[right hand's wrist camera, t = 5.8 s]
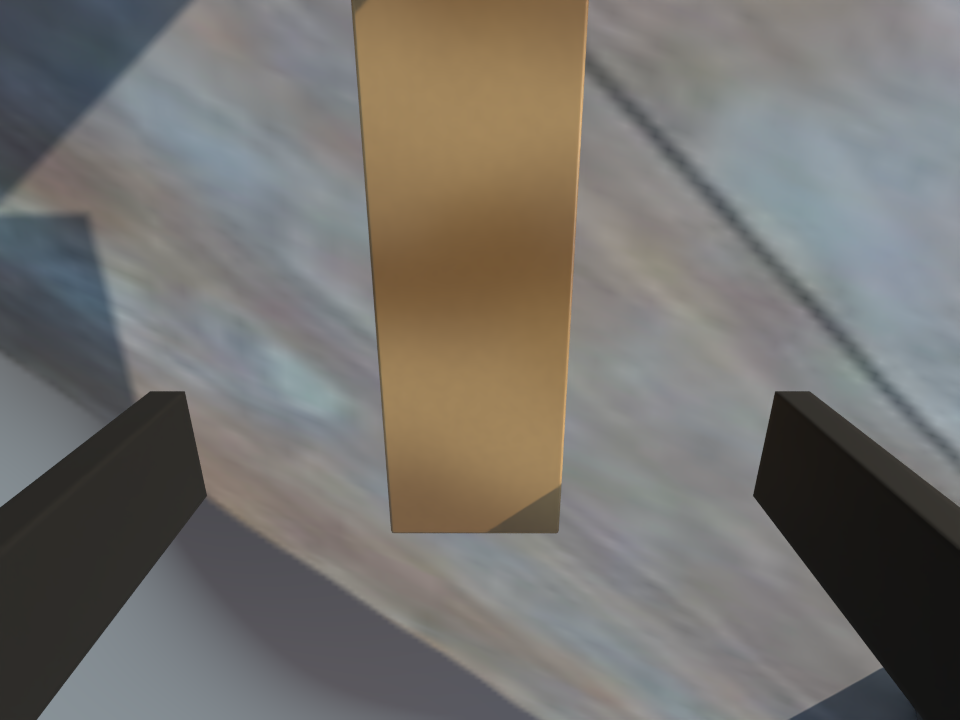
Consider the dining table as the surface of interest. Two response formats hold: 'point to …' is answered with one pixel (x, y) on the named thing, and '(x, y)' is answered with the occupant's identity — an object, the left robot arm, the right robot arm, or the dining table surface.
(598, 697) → the dining table surface
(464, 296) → the bar
